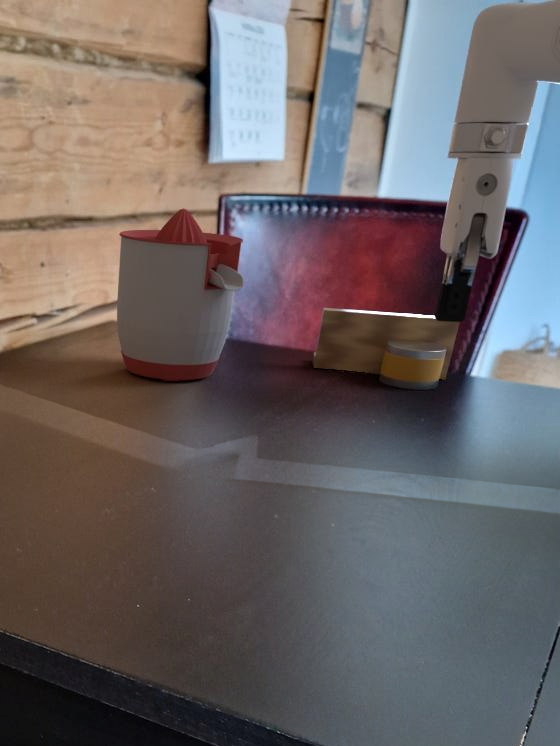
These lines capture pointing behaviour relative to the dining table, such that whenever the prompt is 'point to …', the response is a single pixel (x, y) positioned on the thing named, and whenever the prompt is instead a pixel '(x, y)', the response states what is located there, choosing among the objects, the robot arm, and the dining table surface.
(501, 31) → the robot arm
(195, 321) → the citrus juicer
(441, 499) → the dining table surface
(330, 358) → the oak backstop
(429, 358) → the tin can
